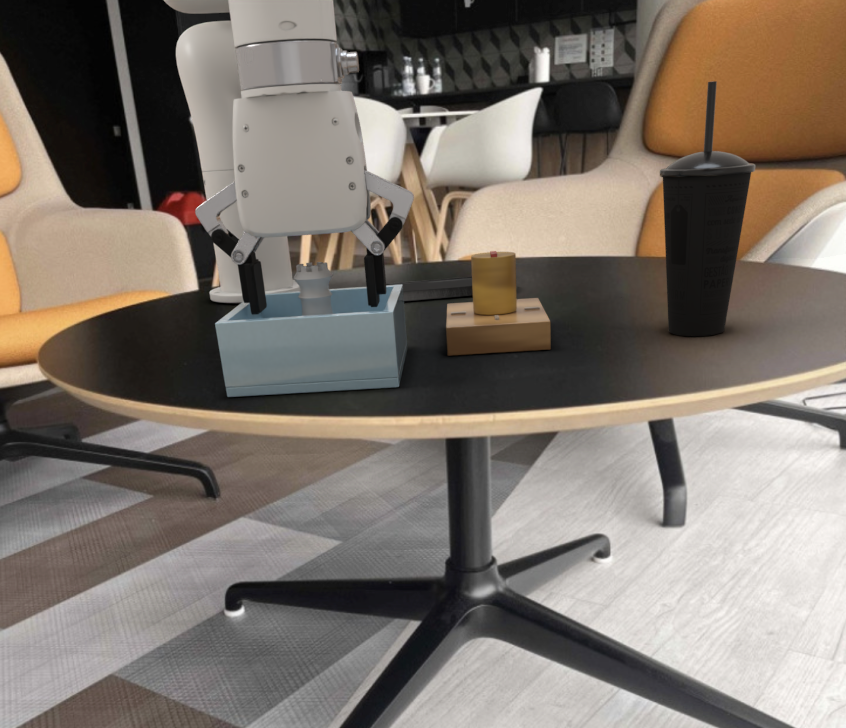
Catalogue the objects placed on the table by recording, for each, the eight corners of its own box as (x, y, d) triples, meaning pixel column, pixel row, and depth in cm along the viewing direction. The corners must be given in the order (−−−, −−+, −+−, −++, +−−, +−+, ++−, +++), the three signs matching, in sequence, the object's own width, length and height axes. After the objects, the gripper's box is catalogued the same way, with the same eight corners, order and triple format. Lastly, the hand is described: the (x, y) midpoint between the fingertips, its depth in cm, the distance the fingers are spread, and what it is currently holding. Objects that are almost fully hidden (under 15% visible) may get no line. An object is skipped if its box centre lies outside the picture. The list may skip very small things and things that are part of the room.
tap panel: (448, 328, 87) (446, 301, 86) (538, 323, 87) (538, 295, 86) (447, 356, 76) (445, 325, 75) (550, 349, 76) (550, 318, 75)
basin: (261, 358, 81) (252, 294, 78) (407, 349, 80) (402, 284, 78) (227, 397, 69) (214, 323, 66) (399, 387, 68) (392, 311, 65)
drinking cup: (746, 338, 75) (769, 75, 66) (654, 341, 76) (665, 83, 68) (736, 321, 81) (755, 79, 73) (651, 323, 83) (661, 87, 75)
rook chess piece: (323, 353, 77) (312, 259, 74) (360, 358, 74) (350, 260, 71) (285, 365, 74) (272, 267, 70) (322, 370, 71) (310, 269, 68)
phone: (511, 282, 104) (385, 292, 103) (511, 292, 104) (386, 302, 103) (500, 273, 111) (382, 283, 110) (500, 283, 111) (383, 292, 110)
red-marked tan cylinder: (473, 308, 82) (470, 250, 80) (515, 305, 82) (514, 247, 80) (473, 316, 79) (471, 255, 77) (518, 313, 79) (516, 252, 76)
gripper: (407, 69, 68) (422, 293, 75) (189, 86, 69) (224, 306, 76) (402, 62, 61) (419, 309, 68) (160, 81, 62) (202, 323, 69)
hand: (316, 307), depth 72 cm, fingers open, 9 cm apart
